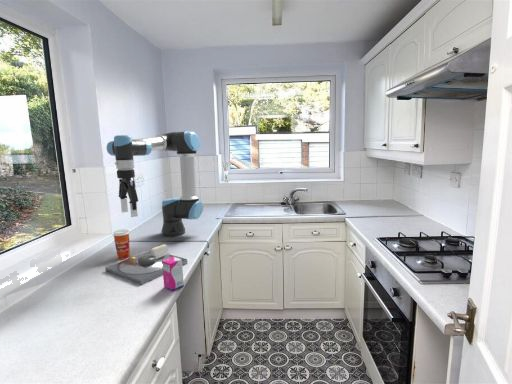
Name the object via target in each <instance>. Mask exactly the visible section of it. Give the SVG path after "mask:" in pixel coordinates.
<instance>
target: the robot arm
mask: <svg viewBox="0 0 512 384" xmlns="http://www.w3.org/2000/svg"><path fill="white" fill-rule="evenodd" d="M200 147H201V141H200V138H199V135H198V134H197V133H195V131H171V132H167V133H162V134H158V135H155V136H152V137H143V138H142V137H141V138H133V139H132V136H131V135H129V134H128V135H126V134H125V135H124V134H122V135H120V134H119V135H118V134H117V135H115V136H114V137H113V140H111V141H108V143H107V144H106V151H107V153H108V154H109V155H110V156H113V157H115V162H114V165H115V166H116V167H115V168H116V177H117V178H118V181H119V184H118V186H119V187H118V198H119V199H120V208H121V213H123V214H124V213H128V212H129V210H128V209H130V217H131V218H134V217H138V214H139V213H138V205H137V203H138V202H139V198H138V193H137V189H136V185H135V180H132V179H133V178H135V176H136V175H135V174H136V173H135V170H134V168H135V162H134V161H135V160H134V156H135V157H136V156H137V157H139V156H140V157H141V156H149V155H150V154H151V153H152V151H159V152H163V151H166V152H167V151H169V152H176V155H177V156H178V157H179V166H180V167H179V168H180V183H181V196H180V197H179V196H178V197H171V198H166V199H164V200H162V201H161V210H162V211H161V213H162V220H163V221H162V222H163V223H162V228H161V231H160V232H161V234H162V235H161V236H163V235H164V236H163V237H177V236H182V235H184V234H185V233H186V228H185V225H184V222H183V219H184V220H198V219H199V218H201V215H202V213H203V211H204V204H203V202H202V201H200V197H199V196H198V195H197V188H196V187H197V186H196V183H197V182H196V168H195V166H196V165H195V164H196V163H195V157H196V155H197V152H198V151H199V150H200ZM117 178H116V179H117ZM127 195H128V196H127ZM128 198H129V202H128ZM128 203H129V206H128ZM128 207H129V208H128Z"/></svg>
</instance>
